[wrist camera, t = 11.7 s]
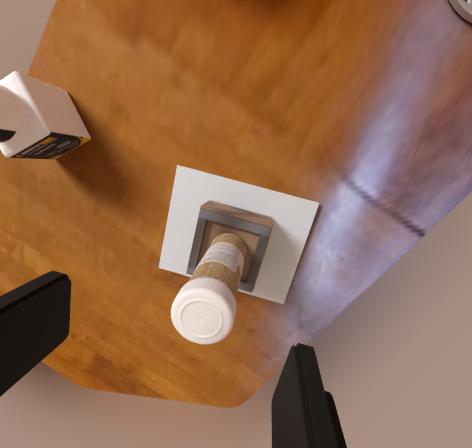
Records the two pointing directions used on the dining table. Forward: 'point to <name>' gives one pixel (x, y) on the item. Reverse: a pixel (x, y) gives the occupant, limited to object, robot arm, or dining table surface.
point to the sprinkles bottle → (211, 293)
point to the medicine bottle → (37, 119)
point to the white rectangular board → (249, 198)
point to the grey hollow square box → (240, 224)
